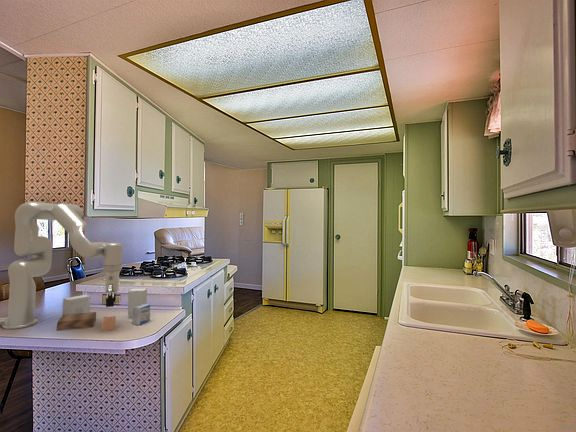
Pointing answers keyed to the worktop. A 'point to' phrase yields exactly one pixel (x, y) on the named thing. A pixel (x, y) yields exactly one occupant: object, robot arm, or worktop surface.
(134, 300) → the skincare box
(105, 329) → the terracotta cube
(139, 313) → the medicine box
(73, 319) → the walnut stand
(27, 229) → the robot arm
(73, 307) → the skincare box
